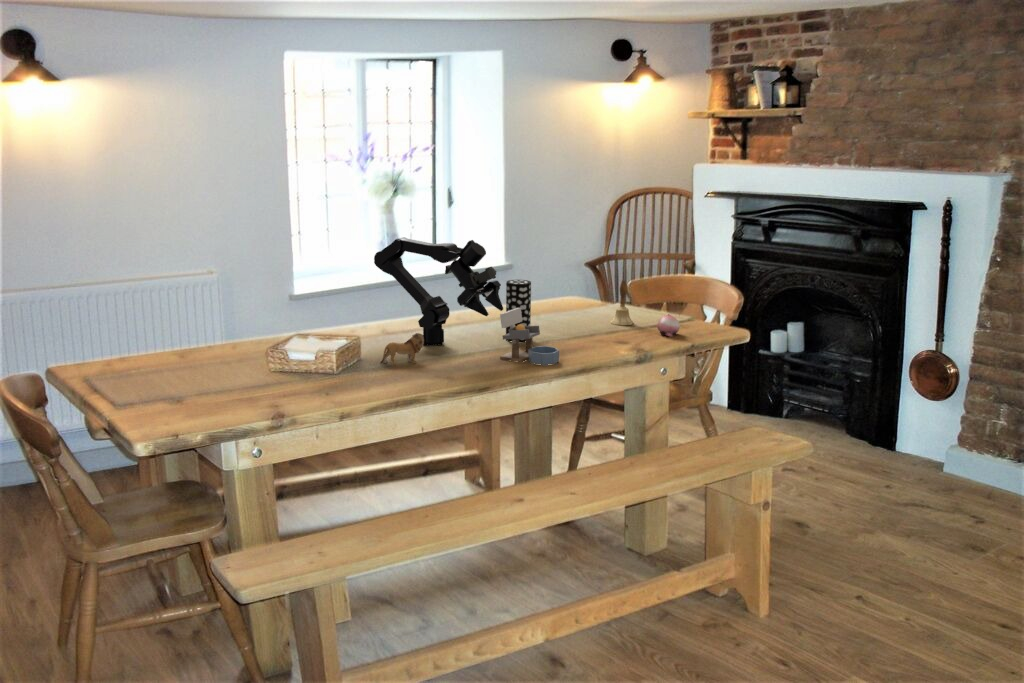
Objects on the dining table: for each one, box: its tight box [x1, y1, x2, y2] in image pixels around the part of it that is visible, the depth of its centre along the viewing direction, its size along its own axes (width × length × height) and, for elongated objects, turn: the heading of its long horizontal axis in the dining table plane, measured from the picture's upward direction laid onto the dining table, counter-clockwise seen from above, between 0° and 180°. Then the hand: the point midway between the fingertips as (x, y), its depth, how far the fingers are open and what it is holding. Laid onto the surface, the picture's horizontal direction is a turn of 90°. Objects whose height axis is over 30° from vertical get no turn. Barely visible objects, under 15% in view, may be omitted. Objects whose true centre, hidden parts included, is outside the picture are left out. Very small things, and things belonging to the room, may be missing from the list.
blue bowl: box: [527, 345, 560, 366], centre depth 341 cm, size 9×9×4 cm
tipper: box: [499, 308, 541, 340], centre depth 343 cm, size 10×11×8 cm
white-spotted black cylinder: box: [505, 279, 532, 343], centre depth 366 cm, size 8×8×20 cm
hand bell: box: [610, 279, 634, 326], centre depth 392 cm, size 8×8×16 cm
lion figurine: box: [379, 332, 424, 366], centre depth 338 cm, size 15×5×9 cm, turn 116°
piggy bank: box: [656, 313, 681, 338], centre depth 377 cm, size 8×8×7 cm
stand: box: [499, 337, 534, 363], centre depth 345 cm, size 8×11×7 cm
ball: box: [515, 324, 525, 330], centre depth 344 cm, size 3×3×3 cm
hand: (495, 312), depth 347 cm, fingers open, 9 cm apart
